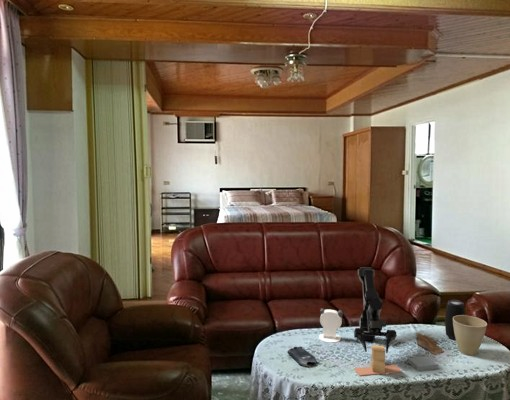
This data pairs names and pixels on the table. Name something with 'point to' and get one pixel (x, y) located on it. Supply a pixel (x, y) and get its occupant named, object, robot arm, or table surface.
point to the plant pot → (469, 333)
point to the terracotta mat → (368, 371)
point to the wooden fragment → (428, 344)
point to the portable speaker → (453, 310)
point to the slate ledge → (423, 363)
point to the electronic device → (301, 356)
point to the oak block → (378, 359)
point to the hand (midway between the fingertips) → (376, 352)
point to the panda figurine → (330, 325)
